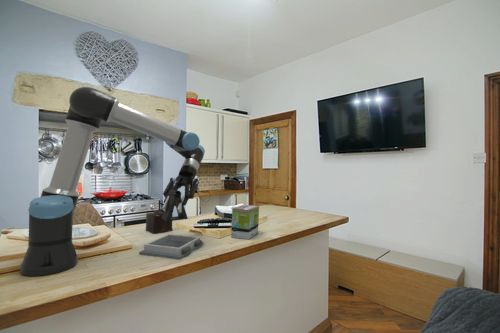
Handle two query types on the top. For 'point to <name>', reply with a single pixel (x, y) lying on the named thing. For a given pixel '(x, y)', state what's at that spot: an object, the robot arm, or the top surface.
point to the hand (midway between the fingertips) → (171, 210)
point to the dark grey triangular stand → (172, 201)
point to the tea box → (245, 221)
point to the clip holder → (172, 246)
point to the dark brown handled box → (157, 222)
